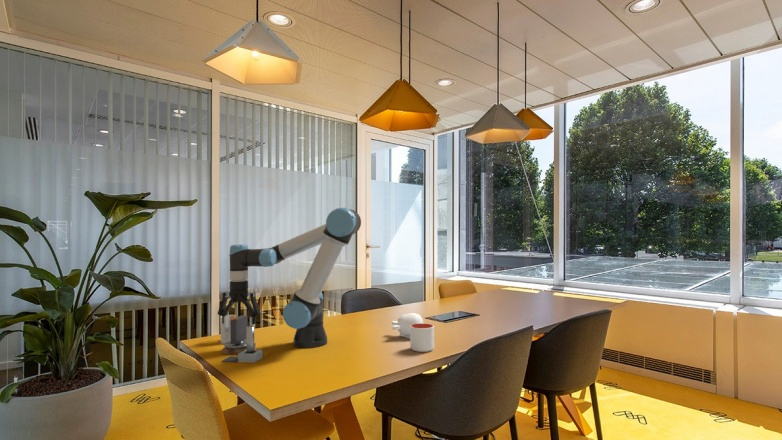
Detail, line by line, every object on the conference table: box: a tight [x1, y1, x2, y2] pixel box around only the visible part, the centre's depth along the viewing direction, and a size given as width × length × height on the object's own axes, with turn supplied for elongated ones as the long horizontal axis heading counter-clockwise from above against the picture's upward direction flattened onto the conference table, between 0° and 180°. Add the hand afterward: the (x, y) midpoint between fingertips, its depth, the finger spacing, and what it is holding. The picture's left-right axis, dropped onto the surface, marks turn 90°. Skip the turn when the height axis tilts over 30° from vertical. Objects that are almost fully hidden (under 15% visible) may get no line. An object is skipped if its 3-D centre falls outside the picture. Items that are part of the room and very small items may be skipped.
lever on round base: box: [223, 314, 249, 349], centre depth 186 cm, size 12×12×13 cm
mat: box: [221, 355, 238, 363], centre depth 173 cm, size 6×6×1 cm
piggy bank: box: [391, 312, 424, 339], centre depth 205 cm, size 12×12×15 cm
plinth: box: [221, 342, 257, 355], centre depth 186 cm, size 10×10×2 cm
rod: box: [246, 325, 255, 354], centre depth 173 cm, size 3×3×13 cm
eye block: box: [237, 349, 264, 363], centre depth 173 cm, size 7×7×3 cm
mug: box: [219, 314, 237, 345], centre depth 202 cm, size 10×7×12 cm, turn 25°
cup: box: [409, 322, 435, 353], centre depth 184 cm, size 10×10×10 cm
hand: (239, 331), depth 187 cm, fingers open, 11 cm apart
